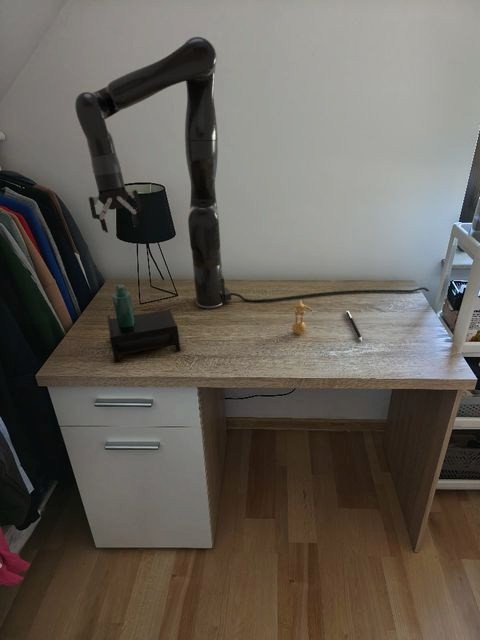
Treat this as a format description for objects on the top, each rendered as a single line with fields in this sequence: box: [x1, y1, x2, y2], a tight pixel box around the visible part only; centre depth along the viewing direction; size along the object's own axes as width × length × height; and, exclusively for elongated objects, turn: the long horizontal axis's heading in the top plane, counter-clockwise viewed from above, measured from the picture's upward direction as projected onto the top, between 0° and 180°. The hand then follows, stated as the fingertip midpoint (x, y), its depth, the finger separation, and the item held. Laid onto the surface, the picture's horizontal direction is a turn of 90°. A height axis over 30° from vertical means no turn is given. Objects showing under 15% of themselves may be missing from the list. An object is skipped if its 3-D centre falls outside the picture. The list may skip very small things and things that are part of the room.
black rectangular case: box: [106, 309, 181, 363], centre depth 137 cm, size 18×13×8 cm
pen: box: [346, 310, 363, 342], centre depth 146 cm, size 1×19×1 cm, turn 4°
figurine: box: [284, 299, 315, 335], centre depth 140 cm, size 8×6×12 cm
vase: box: [111, 283, 135, 327], centre depth 133 cm, size 5×5×12 cm
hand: (121, 229), depth 143 cm, fingers open, 8 cm apart
